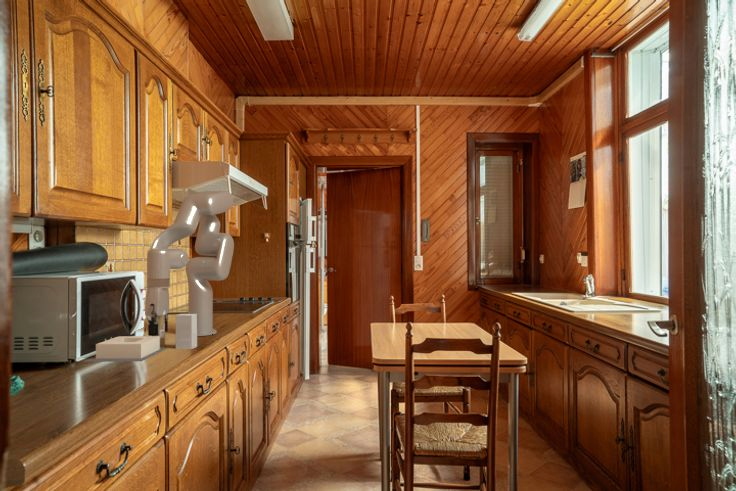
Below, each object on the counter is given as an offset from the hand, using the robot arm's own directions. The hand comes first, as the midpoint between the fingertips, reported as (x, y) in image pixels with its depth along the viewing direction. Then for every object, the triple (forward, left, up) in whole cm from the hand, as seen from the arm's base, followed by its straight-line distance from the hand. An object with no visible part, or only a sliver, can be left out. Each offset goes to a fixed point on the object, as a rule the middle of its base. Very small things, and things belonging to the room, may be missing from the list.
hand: (158, 333), depth 170 cm
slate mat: (+14, -4, -5) cm, 15 cm away
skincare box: (+3, +11, -5) cm, 13 cm away
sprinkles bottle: (0, 0, -5) cm, 5 cm away
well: (+13, -4, -5) cm, 14 cm away
